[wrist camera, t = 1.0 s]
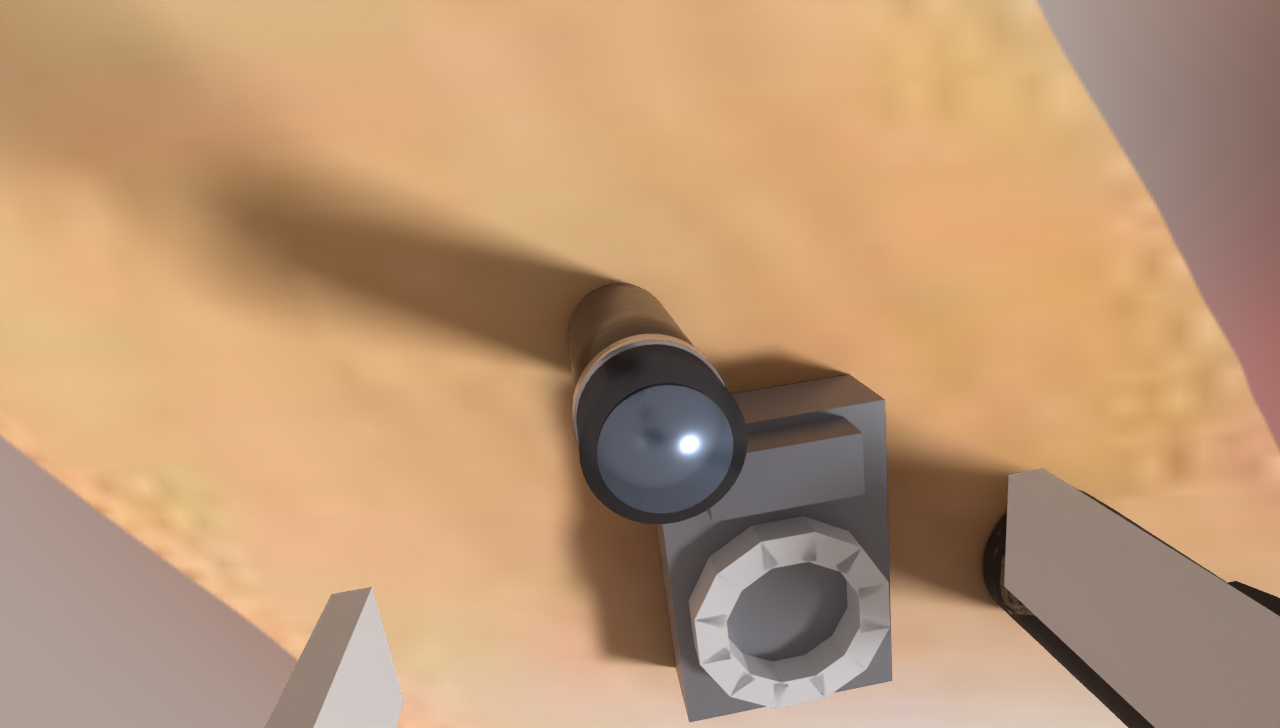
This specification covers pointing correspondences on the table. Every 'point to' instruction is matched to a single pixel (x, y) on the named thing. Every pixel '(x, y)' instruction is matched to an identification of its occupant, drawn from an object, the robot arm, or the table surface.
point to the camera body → (787, 558)
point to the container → (1049, 639)
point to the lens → (649, 410)
